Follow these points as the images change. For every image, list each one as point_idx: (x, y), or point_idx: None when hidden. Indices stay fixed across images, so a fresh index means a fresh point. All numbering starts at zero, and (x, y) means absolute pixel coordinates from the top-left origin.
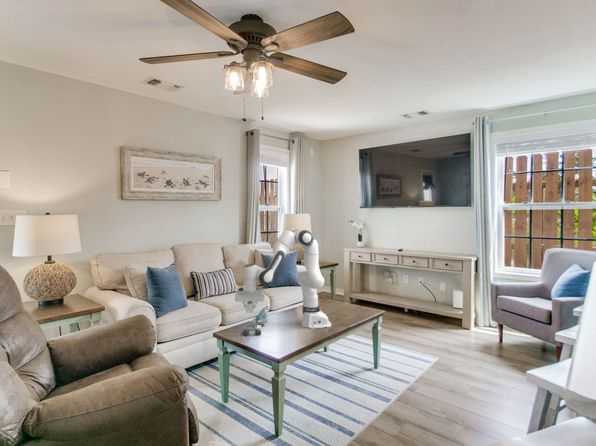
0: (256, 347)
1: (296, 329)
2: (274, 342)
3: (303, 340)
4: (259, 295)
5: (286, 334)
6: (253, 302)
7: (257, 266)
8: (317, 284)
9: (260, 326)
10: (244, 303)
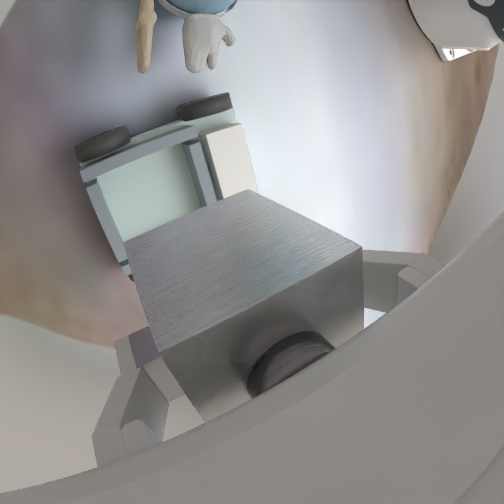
0: None
1: (402, 64)
2: None
3: (426, 207)
4: None
5: (375, 148)
6: (360, 306)
7: None
8: None
9: (247, 162)
10: (133, 401)
